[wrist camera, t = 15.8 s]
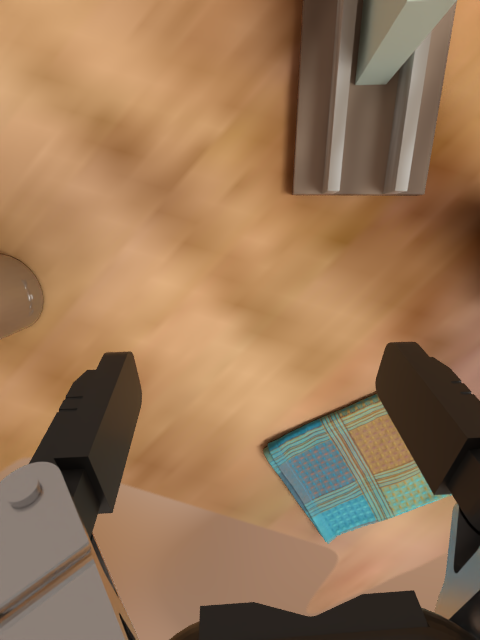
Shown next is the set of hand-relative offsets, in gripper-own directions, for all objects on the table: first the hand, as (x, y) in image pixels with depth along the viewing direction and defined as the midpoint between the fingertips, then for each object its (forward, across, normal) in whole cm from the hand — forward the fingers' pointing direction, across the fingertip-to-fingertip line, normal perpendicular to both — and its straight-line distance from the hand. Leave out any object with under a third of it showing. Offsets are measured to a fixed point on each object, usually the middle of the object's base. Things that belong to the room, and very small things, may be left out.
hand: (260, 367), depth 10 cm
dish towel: (+16, -17, +30) cm, 38 cm away
